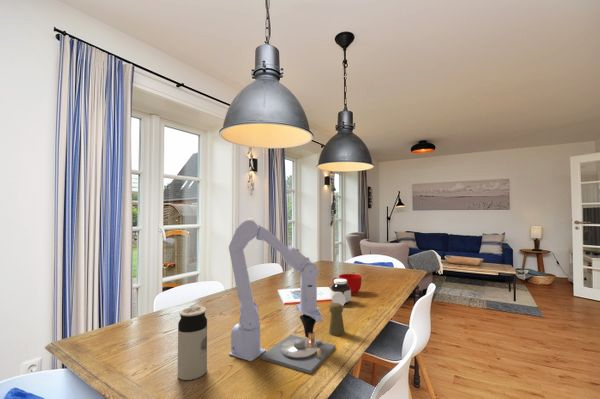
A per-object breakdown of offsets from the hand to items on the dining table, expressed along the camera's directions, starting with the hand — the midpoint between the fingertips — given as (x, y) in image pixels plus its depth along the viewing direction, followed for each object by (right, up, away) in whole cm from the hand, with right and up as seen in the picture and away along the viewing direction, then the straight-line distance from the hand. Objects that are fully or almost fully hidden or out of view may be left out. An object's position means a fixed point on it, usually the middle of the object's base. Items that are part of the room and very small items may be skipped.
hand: (308, 336), depth 97 cm
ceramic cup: (+24, -8, +66) cm, 71 cm away
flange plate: (-2, -2, -3) cm, 5 cm away
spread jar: (+18, -7, +47) cm, 51 cm away
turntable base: (-3, -4, -4) cm, 6 cm away
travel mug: (-34, -4, -15) cm, 38 cm away
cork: (+11, -4, +12) cm, 17 cm away
